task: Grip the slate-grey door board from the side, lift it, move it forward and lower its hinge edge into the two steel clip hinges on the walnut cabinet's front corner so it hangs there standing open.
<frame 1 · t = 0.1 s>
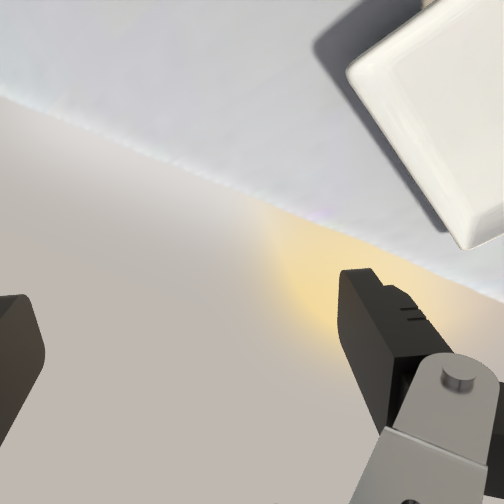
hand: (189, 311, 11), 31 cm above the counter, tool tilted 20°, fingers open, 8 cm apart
tray: (479, 117, 45), on the counter
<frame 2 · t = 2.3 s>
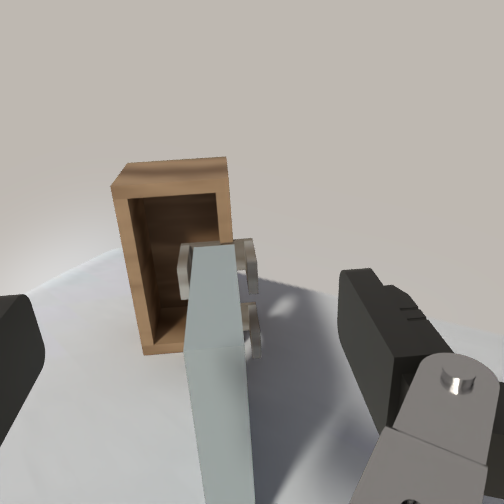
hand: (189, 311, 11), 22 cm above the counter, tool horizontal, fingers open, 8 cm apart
cabinet: (240, 346, 45), on the counter
door: (230, 455, 33), on the counter
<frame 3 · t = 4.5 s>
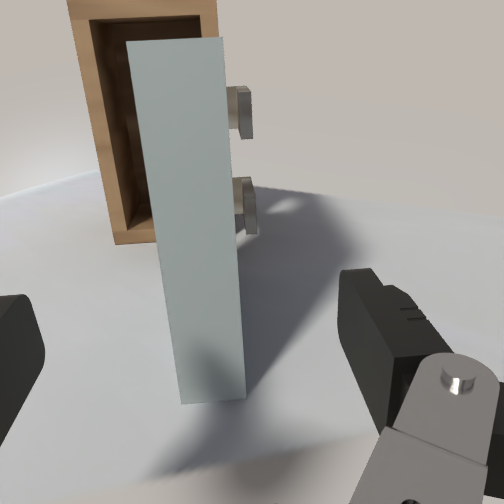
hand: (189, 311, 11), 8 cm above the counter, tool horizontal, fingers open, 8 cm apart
cabinet: (232, 236, 37), on the counter
door: (214, 326, 25), on the counter
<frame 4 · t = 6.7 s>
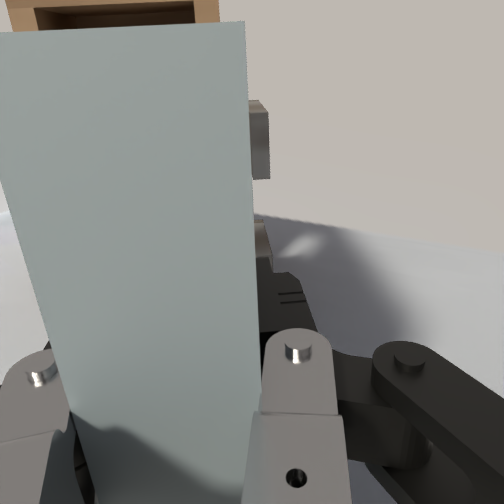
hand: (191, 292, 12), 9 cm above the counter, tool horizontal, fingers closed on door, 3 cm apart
cabinet: (238, 295, 28), on the counter
door: (216, 477, 16), on the counter, touching gripper
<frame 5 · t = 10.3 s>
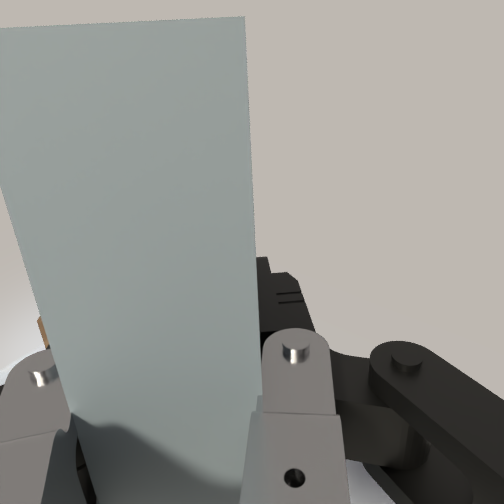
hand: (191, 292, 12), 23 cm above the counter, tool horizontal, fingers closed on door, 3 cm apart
door: (216, 477, 16), point 15 cm above the counter, touching gripper
when the fingers open (10 cm above the counter, at t = 13.6 s): door drops 1 cm, on the counter.
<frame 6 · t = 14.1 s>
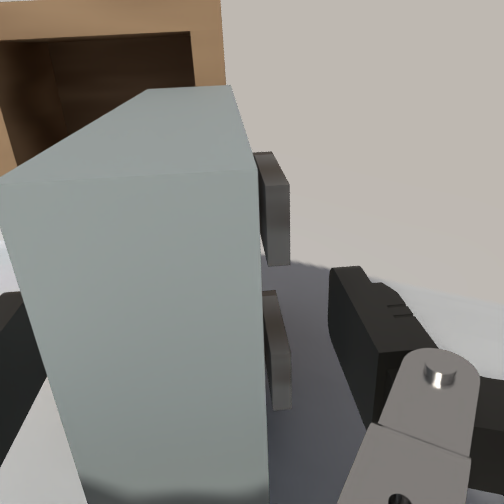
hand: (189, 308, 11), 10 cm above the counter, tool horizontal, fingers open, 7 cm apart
cabinet: (245, 376, 23), on the counter
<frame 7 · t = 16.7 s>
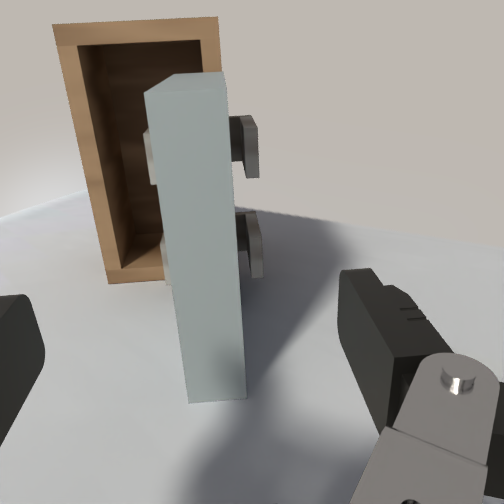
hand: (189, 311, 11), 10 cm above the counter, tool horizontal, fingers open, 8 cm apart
cabinet: (235, 274, 34), on the counter
door: (218, 331, 28), on the counter
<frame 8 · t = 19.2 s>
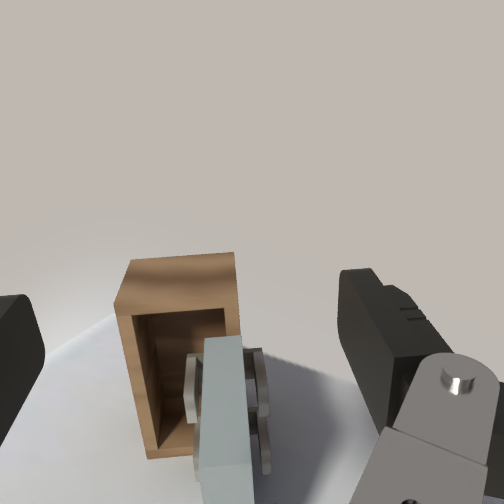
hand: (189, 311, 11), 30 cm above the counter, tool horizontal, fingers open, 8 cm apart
cabinet: (248, 449, 43), on the counter
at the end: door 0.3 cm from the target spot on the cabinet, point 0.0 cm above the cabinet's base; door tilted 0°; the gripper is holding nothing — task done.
